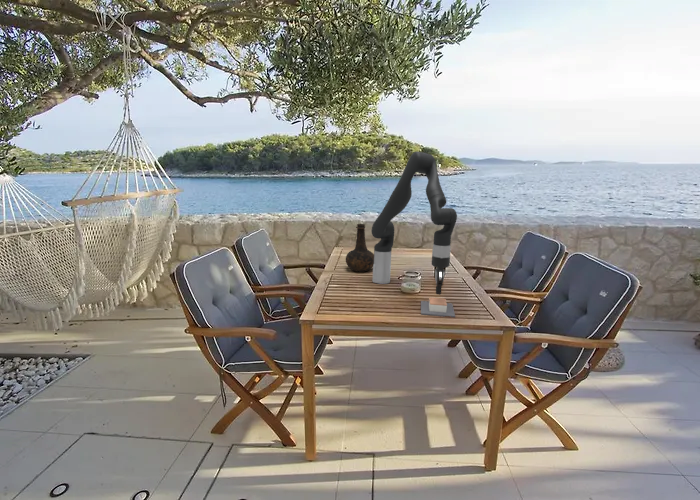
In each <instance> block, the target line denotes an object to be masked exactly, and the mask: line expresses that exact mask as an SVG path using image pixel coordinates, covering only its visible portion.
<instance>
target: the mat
mask: <svg viewBox="0 0 700 500" xmlns="http://www.w3.org/2000/svg"><path fill="white" fill-rule="evenodd" d="M446 303H447V310H446V312H434V311H429V300H428V301H425V300H420V315H423V316H434V317H435V316H438V317H445V316H451V317H450V318H456V314H455V310H454V305H453V303H451V302H450V303H449V302H446Z"/></svg>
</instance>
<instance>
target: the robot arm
mask: <svg viewBox="0 0 700 500" xmlns="http://www.w3.org/2000/svg"><path fill="white" fill-rule="evenodd" d="M416 173H418V174H424V175H425V177H426V178H427V180H428V181H427V185H426V187H425V195H426V198H427V199H428V203H429V206H430V219H431V222H432V223H433V224H434V225H435V226H443V227H442V228H441V229H439V230H438V229H437V230H436V231H434V234H433V244H432V253H431V266H432V267H436V268H435V269H434V272H435V273H434V274H435V278H434V279H435V294H436V295H442V288H443V286H444V284H443V283H444V280H445V275H446V271H445V269H444V268H448V267H450V264H451V250H452V248H451V244H452V243H451V242H452V241H451V240H452V234H453V231H454V230H455V229H454V228H455V226H456V224H457V220H458V214H457V211H456V210H455V208H452V207H445V206H446V204H447V198H446V196H445V193H444V191H443V188H442V185H441V183H440V179H439V172H438V168H437V163H436V159H435V157H434V156H433V155H432V154H430V153H426V152H423V151H418V150H417V151H414V152H413V153H412V154H411V155H410V156H409V158H408V160H407V162H406V165H405V168H404V170H403V172H402V174H401V177H400V178H399V180H398V183H397V184H396V186H395V188H394V189H393V191H392V193H390V196H389V198H388V200H387V202H386V204H385V205H384V206H383V209H382V210H381V212H380V214H379V215H378V216H377V218H376V219H375V221H374V222H373V224H372V226H371V234H372V237H373V238H375V239H380V240H379V241H378V242H377V243H375V244H374V247H373V254H374V265H373V267H372V283H375V284H381V285H382V284H383V285H386V284H387V285H388V284H390V282H391V268H392V267H391V266H392V248H393V245H394V242H395V241H394V240H395V225H394V223H393V222H392V220H393V219H394V218H395V217H396V216H397V215H399V214H400V213H401V212H402V211H403V210H405V208H406V207H407V205H408V203H409V202H410V200H411V198H412V180H413V177H414V176H415V175H416Z"/></svg>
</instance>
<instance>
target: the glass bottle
mask: <svg viewBox="0 0 700 500" xmlns="http://www.w3.org/2000/svg"><path fill="white" fill-rule="evenodd" d="M355 228H356V230H357V232H356V240H355V241H356V242H355V247H354V249H352V250H349V252H348V253H347V254H346V256H345V264H346V265H347V266H348V268H349V269H350V270H352V271H354V272H358V271H359V272H360V273H361V272H362V273H364V272H368V271H369V270H371V269H373V265H374V252H372V251H370V250H368V248H367V244H366V230H365V228H366V225H365V224H364V223H357V225H356V227H355ZM363 271H364V272H363Z"/></svg>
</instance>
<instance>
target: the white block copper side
mask: <svg viewBox="0 0 700 500" xmlns="http://www.w3.org/2000/svg"><path fill="white" fill-rule="evenodd" d="M428 302H429V311H434V312H446V310H447V303H448V302H447V299H446V298H443V297H442V298H441V297H429V298H428Z"/></svg>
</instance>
